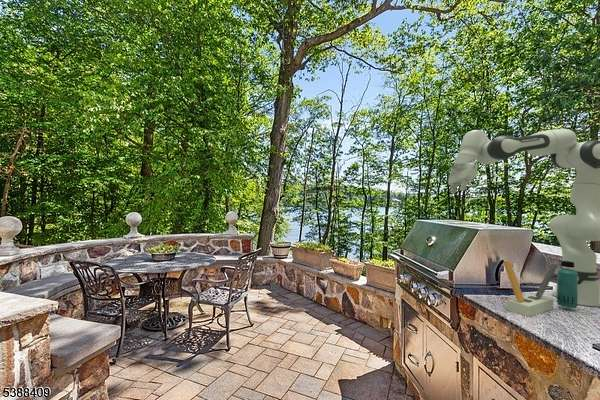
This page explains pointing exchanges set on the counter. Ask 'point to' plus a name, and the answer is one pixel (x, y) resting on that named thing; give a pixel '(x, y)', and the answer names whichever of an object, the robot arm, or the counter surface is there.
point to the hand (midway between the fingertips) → (457, 191)
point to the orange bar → (513, 281)
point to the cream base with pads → (529, 305)
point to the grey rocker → (546, 279)
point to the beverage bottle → (567, 286)
